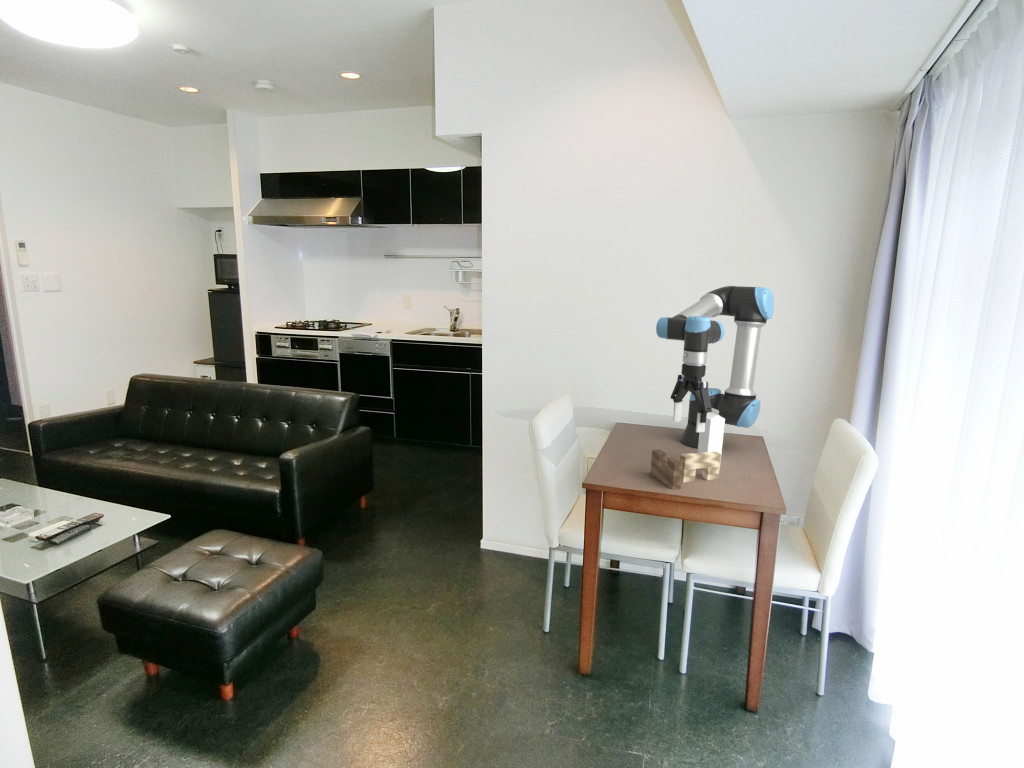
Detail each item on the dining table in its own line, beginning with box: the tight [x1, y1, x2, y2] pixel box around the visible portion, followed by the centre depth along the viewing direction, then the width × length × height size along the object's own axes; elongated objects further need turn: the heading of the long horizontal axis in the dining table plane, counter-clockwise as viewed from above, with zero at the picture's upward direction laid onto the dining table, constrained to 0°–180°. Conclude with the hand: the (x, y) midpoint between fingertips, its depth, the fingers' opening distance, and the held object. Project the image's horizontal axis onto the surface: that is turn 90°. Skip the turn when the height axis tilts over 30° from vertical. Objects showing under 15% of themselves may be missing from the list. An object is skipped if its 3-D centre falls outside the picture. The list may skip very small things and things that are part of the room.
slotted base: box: [649, 448, 683, 490], centre depth 198 cm, size 3×14×9 cm, turn 18°
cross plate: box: [679, 452, 722, 483], centre depth 200 cm, size 14×3×9 cm, turn 108°
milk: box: [696, 408, 726, 470], centre depth 212 cm, size 6×6×22 cm
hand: (688, 426), depth 196 cm, fingers open, 13 cm apart
